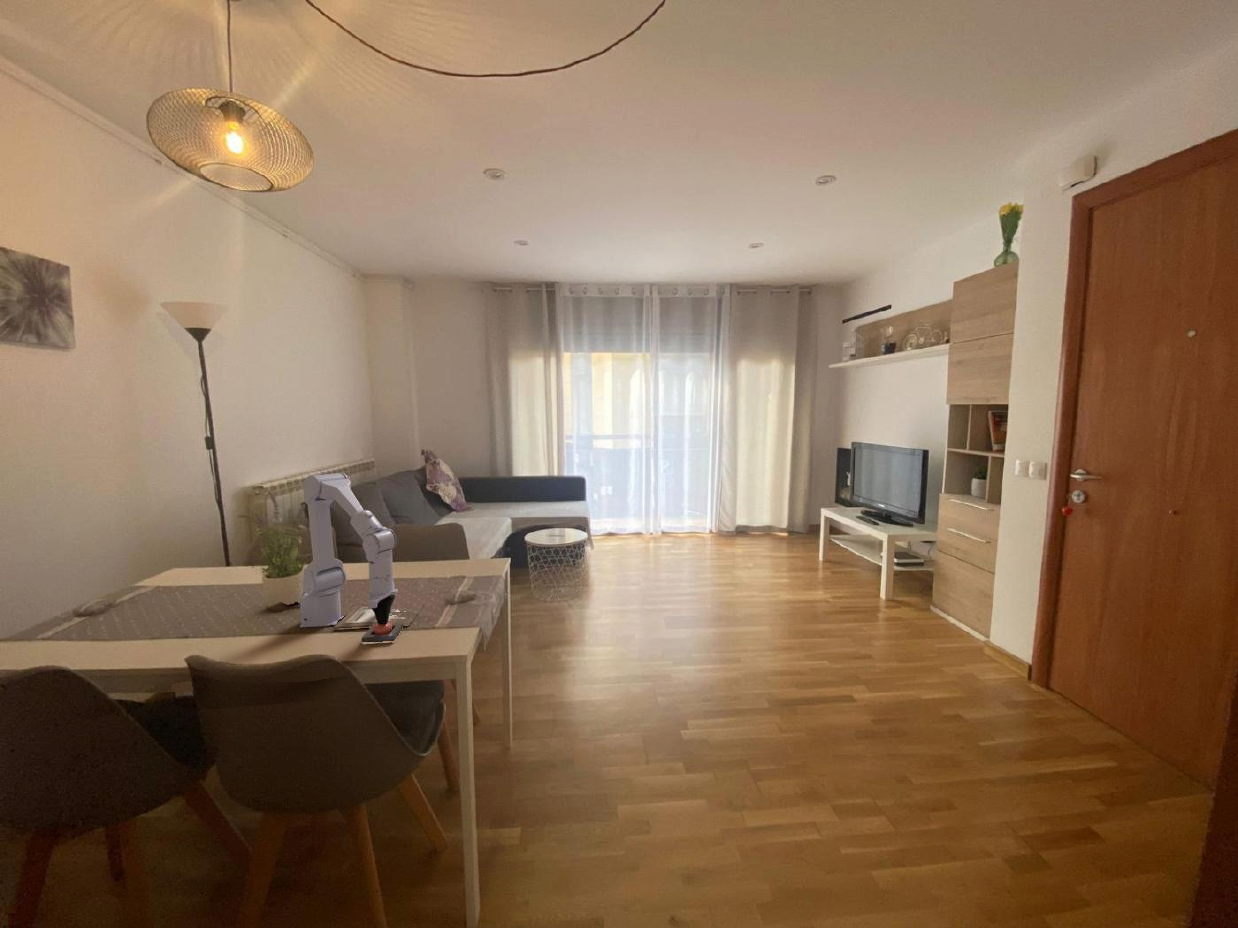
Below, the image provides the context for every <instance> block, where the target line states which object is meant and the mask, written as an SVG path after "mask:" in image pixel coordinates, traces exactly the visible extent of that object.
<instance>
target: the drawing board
mask: <svg viewBox="0 0 1238 928" xmlns="http://www.w3.org/2000/svg"><path fill="white" fill-rule="evenodd" d="M360 605H361V604H360ZM360 605H359V604H357V605H356V606H355V607H354V608H353V609H352V610H350V611H349V613H347V615H346V616H345V617H344V618H343V619H342V620H341V621H339V622H338V623H337V624H336V625H334V627H333V630H334V629H337V628H338V629H339V628H352V627H369V626H372V625H375V624H377V620H376V617H375V614H374V612H373V610H372V608H368V606H367V605H368V604H363V605H364V606H360ZM365 605H366V606H365ZM391 612H400V611H399V610H398V609H397V610H395V609H391ZM404 612H406V611H404ZM390 615H392V614H391V613H390V614H389V619H388V621H393V620H390V619H405V618H404V617H398V616H397V615H392V616H390ZM395 616H396V617H395Z"/></svg>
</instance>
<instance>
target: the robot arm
mask: <svg viewBox="0 0 1238 928" xmlns="http://www.w3.org/2000/svg"><path fill="white" fill-rule="evenodd" d="M302 487H303V488H302V490H303V498H304V499H303V501H304V503H305V504H307V511H308V519H309V520H308V521H309V531H310V542H311V550H312V551H311V553H312V561H311V562H310V563H309V564H308V565H307V566H306V567H305V568H304V569H303V576H304V577H303V581H302V585H303V589H304V591H305V592H306V593H305V594H304V595H303V597H302V599H301V603H300V604H299V606H300V607H299V608H300V609H299V610H300V623H301V624H300V625H299V628H313V627H314V628H316V627H331V626H330V625H334V626H336V625H337V624H338V623H339V622H338V621H337V620H338V619H342V618H343V617H344V616H342V617H341V613H342V612H341V611H342V610H341V609H342V608H341V590H342V589H343V586H344V585H345V584H346V581H347V572H346V570H345V567H344V562H343V561H341V560H340V559H338V558H336V557H335V551H334V541H333V540H334V539H333V530H332V522H331V521H332V520H331V509H330V508H331V507H330V506H331V504H332V503H333V502H334V501H336V503H338V505H339V506H340V507H341V508H342V509H343V510H344V511H345V512H346V513H347V515H349V516H350V525H351V527H353V529H354V530H355V531H356V533H357V534H358V535H359V537H360V538H361V539H362V541H363V542H362V549H363V550H364V552H365V558H366V561H367V562H368V581H369V593H368V600H367V605H368V608H372V610H373V612H374V614H375V617H376V620H377V623H378V625H385V624H387V623H388V619H389V614H390V609H391V606H392V604H393V602H394V600H395V598H396V594H397V593H398V592H399V588H395V587H396V586H395V581H394V568H393V566H394V565H393V550H395V548H396V546H397V543H398V538H397V536H396V533H395V532H394V530H393V529H392V528H387V527H386V526H383V525H382V524H381V523H380V522H379V520H378V519H377V518H376V516H375V515H374V514H373V513H372V512H371V511H370V510H366V509H365V510H364V508H363V507H362V505H361V503H360V502H359V500H358V499H357V497H356V496H355V494H354V493H353V491H352V481H351V480H350V479H349V477H348V475H347V474H346V473H344V472H340V471H339V472H336V473H325V474H316V475H315V474H314V475H313V474H311V475H308V476H307V477H306V478H305V480H304V481H303V483H302ZM337 622H338V623H337Z"/></svg>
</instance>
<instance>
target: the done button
mask: <svg viewBox="0 0 1238 928" xmlns="http://www.w3.org/2000/svg"><path fill="white" fill-rule="evenodd" d="M391 631H392V623H391V622H389V621H388V623H387V624H385V625H378V623H377V624H375V625H374V634H375V635H376V634H390V633H391Z"/></svg>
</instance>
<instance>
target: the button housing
mask: <svg viewBox="0 0 1238 928" xmlns="http://www.w3.org/2000/svg"><path fill="white" fill-rule="evenodd" d="M402 627H403V623H395V624H392V631H391V633H389V634H376V635H375V634H374V625H372V626H371V628H370V629H367V631H366V632H365V633H364V634H363V635H362V637H361V643H362V642H383V641H394V640H395V639H396V637H397V636H398V635H399V633H400V631H401V630H402ZM403 628H404V627H403ZM399 636H400V635H399Z"/></svg>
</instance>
